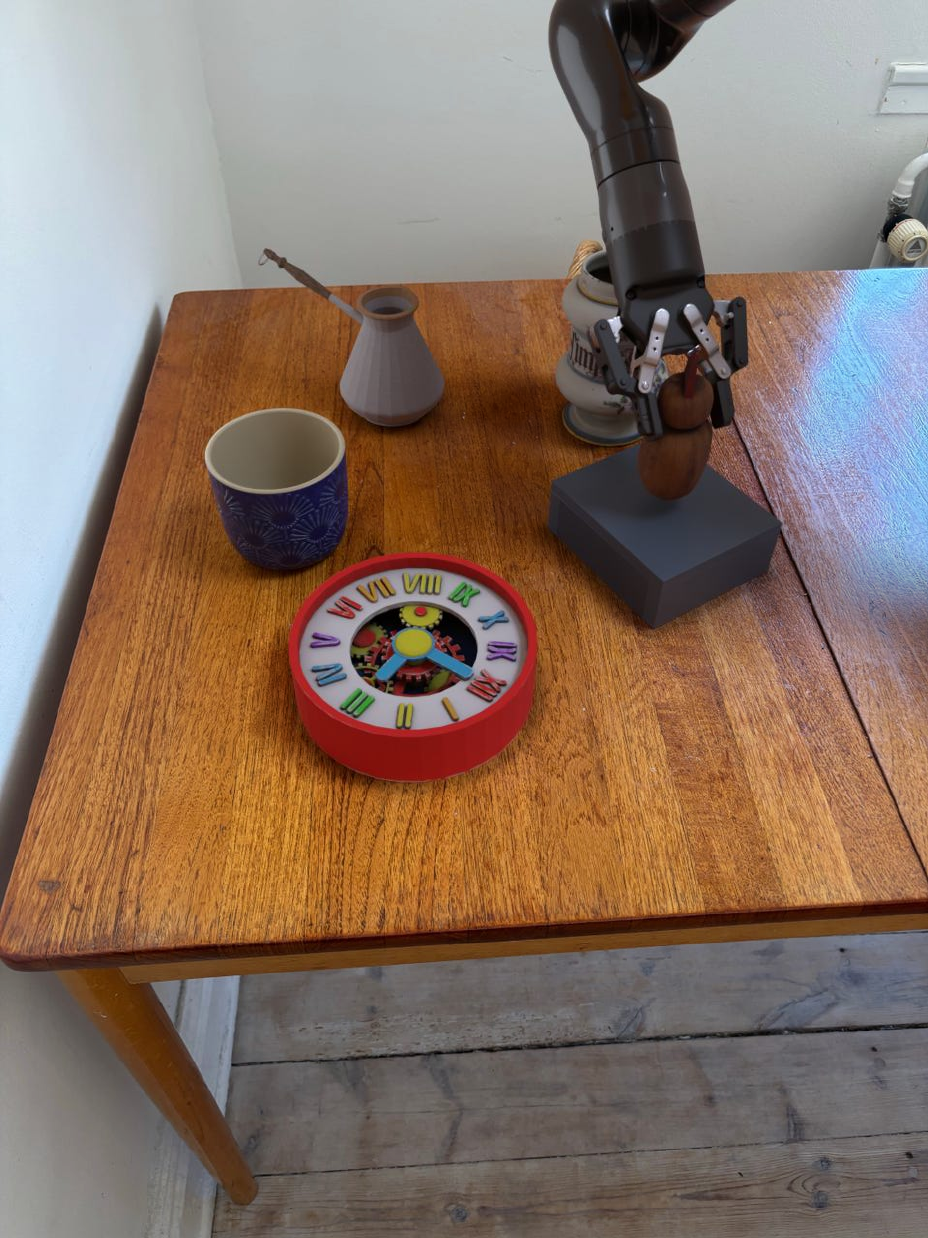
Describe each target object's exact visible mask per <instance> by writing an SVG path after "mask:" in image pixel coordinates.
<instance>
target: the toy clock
mask: <svg viewBox="0 0 928 1238" xmlns="http://www.w3.org/2000/svg"><path fill="white" fill-rule="evenodd" d="M537 631H538V630H537V627H536V623H535V620H534V617H533V613H532V611H531V610H530V608H529V607H528V604H527V603H526V601H525V599H524V598H523V597H522V595H520V593H519V592H518V591H517V590H516V588H514V587H513V586H512V585H511V584H510V583H509V582H507V581H506V579H504V578H502V577H501V576H500V575H499V574H497V573H495V572H494V571H492V570H490V569H489V568H487V567H485V566H483V565H481V564H478V563H475V562H473V561H470V560H468V559H465V558H461V557H457V556H453V555H449V554H445V553H437V552H430V551H429V552H426V551H422V552H421V551H407V552H406V551H405V552H398V553H397V552H396V553H389V554H383V555H380V556H375V557H372V558H368V559H365V560H362V561H360V562H357V563H354V564H352V565H349V566H347V567H346V568H344V569H342V570H340V571H338V572H336V573H334V574H333V575H331V576H330V577H329V578H327V579H326V580H324V581H323V582H322V583H321V584H319V585H318V586H317V587H316V588H314V590H313V591H312V593H310V594H309V595H308V596H307V597H306V598H305V600H304V601H303V603H302V605H301V606H300V608H299V610H297V612H296V614H295V617H294V619H293V622H292V623H291V627H290V632H289V637H288V642H287V643H288V644H287V646H288V659H289V668H290V671H291V677H292V678H291V679H292V682H293V690H294V695H295V701H296V706H297V711H298V712H299V715H300V718H301V722H302V724H303V726H304V728H305V729H306V731H307V732H308V735H309V736H310V738H311V740H312V741H314V743H315V744H316V745H317V746H318V747H319V748H320V749H321V750H322V751H323V752H324V753H325V754H326V755H328V756H329V757H330V758H332V759H333V760H335V762H337V763H338V764H340V765H342V766H344V767H346V768H348V769H349V770H352V771H354V772H356V773H358V774H361V775H364V776H368V777H370V778H373V779H377V780H383V781H389V782H396V783H428V782H435V781H440V780H441V781H442V780H446V779H450V778H453V777H456V776H457V777H458V776H460V775H463V774H466V773H468V772H470V771H473V770H475V769H477V768H479V767H481V766H483V765H485V764H486V763H488V762H489V761H491V760H492V759H493V758H495V757H496V756H498V755H499V754H501V753H502V752H503V751H504V750H505V749H506V748H507V747H508V746H509V745H510V744H512V742H513V741H514V740H515V739H516V737H517V736H518V734H519V733H520V732H521V730H522V728H523V727H524V726H525V724H526V721H527V719H528V717H529V714H530V711H531V710H532V706H533V705H532V704H533V700H534V692H535V683H536V681H535V680H536V671H537V670H536V668H537V658H538V657H537V656H538V633H537Z"/></svg>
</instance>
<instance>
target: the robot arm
mask: <svg viewBox="0 0 928 1238" xmlns="http://www.w3.org/2000/svg"><path fill="white" fill-rule="evenodd" d="M736 1H737V0H555V2H554V4H553V6H552V9H551V12H550V15H549V21H548V27H547V28H548V29H547V31H548V32H547V44H548V52H549V57H550V62H551V65H552V68H553V72H554V74H555V77H556V79H557V81H558V83H559V86H560V88H561V90H562V92H563V95H564V97H565V99H566V101H567V103H568V105H569V108H570V110H571V112H572V114H573V116H574V118H575V120H576V123H577V124H578V127H579V129H580V130H581V132H582V134H583V136H584V138H585V140H586V141H587V145H588V150H589V156H590V161H591V166H592V171H593V176H594V179H595V180H594V182H595V187H596V190H597V198H598V199H597V200H598V212H599V213H598V214H599V220H600V221H599V222H600V227H601V239H602V241H603V243H604V247H605V250H606V252H607V257H608V262H609V267H610V272H611V277H612V282H613V287H614V292H615V297H616V299H617V302H618V312H617V315H616V317H615V318H612V319H609V320H606V319H600V320H599V321H597V322H596V323H595V324H594V325H592V326H591V327H590V328H589V329H588V330H587V332H586V335H587V338H588V341H589V344H590V346H591V349H592V352H593V354H594V357H595V360H596V362H597V365H598V368H599V371H600V373H601V376H602V379H603V381H604V384H605V387H606V390H607V392H608V393H609V394H611V395H616V394H618V395H623V396H627V397H628V398H630V400H631V402H632V405H633V410H634V415H635V419H636V425H637V430H638V432H639V434H640V436H645V440H646V441H647V442H651V441H656V440H659V439H661V438H662V437H663V430H662V425H661V420H660V415H659V410H658V405H657V400H656V395H655V393H653V394H651V389H652V385H653V380H654V375H655V370H656V367H657V366H658V364H659V361H660V358H662V357H663V358H664V357H666V356H667V355H671V356H680V355H684V356H685V357H686V359H687V360H688V357H689V355H691V353H693V352H694V349H695V348H697V353H699V358H698V365H697V371H698V372H699V374H700V375H701V376H703V377H704V378H706V379H707V380H708V381H709V382H710V384H711V386H712V389H713V396H714V400H713V405H712V409H711V412H710V416H709V418H710V423H711V424H712V429H714V430H718V429H722V428H726V427H729V426H731V425H732V422H733V421H732V419H733V418H734V417H735V413H736V408H735V404H734V399H733V394H732V388H731V387H732V386H731V383H730V382H731V381H730V380H731V377H732V376H733V375H734V374H735V373H737V372H738V371H740V370H742V369H744V368H746V367H747V366H748V365H749V359H750V358H749V340H748V339H749V338H748V317H747V316H748V314H747V313H748V312H747V301H746V299H745V298H744V297H743V296H736V297H734V298H732V299H730V300H728V299H727V300H726V299H724V300H723V299H714V298H713V296H712V295H711V293H710V292H709V290H708V288H707V286H706V270H705V265H704V259H703V253H702V249H701V244H700V239H699V234H698V228H697V224H696V219H695V214H694V209H693V204H692V199H691V195H690V190H689V187H688V184H687V180H686V178H685V175H684V173H683V168H682V164H681V158H680V154H679V147H678V143H677V137H676V134H675V133H676V132H675V127H674V124H673V119H672V115H671V113H670V110H669V108H668V106H667V105H666V103H665V102H664V101H663V100H662V99H660V98H659V97H657V96H655V95H654V94H652V93H650V92H648V90H645V89H644V88H643V87H642V86H641V85H640V84H641V83H643V82H646V81H648V80H651V79H652V78H654V77H655V76H657V75H659V74H660V73H662V72H664V70H665V69H666V68H668V67H669V66H670V65H671V64H672V62H673V61H674V60H675V59H676V58H677V57H678V56H679V54H680V53H681V52H682V51H683V50H684V49H685V47H687V45H688V44H689V43H690V41H692V40H693V38H694V37H695V36H696V34H697V33H698V32H699V30H700V29H701V28H702V27H703V25H704V24H705V23H706V21H708V20H710V19H711V18H713V17H715V16H716V15H718V14H719V13H721V12H722V11H723V10H725V9H727V7H729V6H731V5H732V4H733V3H735V2H736ZM712 316H713V317H714V319H715V320H714V321H715V325H716V326H718V327H719V329H720V345H719V343H718V342H717V341H718V340H717V339H716V338H715V337H714V335H713V334H712V332H711V330H710V329H709V327H708V326H709V324H710V321H711V319H712ZM619 331H621V332H622V333H623V334H624V335H625V336H626V337H627V338H628V339H629V340H630V341H631V342H632V343H633V344H634V345H635V346H634V351H633V356H632V361H631V366H630V370H631V376H630V377H629V375H628V372H627V369H626V367H625V364H624V361H623V359H622V356H621V353H620V350H619V348H618V345H617V343H618V342H619V340H620V336H619ZM720 351H721V352H720Z"/></svg>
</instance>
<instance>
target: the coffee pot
mask: <svg viewBox="0 0 928 1238" xmlns="http://www.w3.org/2000/svg"><path fill="white" fill-rule="evenodd" d="M264 255H265V257H266V259H265V260H264V261H263V262H261V260H262V258H263V257H264ZM269 260H270V261H274V262H275V263H276V266H277V268H278V269H284V270H285V272H287V273H288V274H289V275H290V276H291V277H292V278H294V280H295V281H297V282H298V283H299V284H302V285H303V286H305V287H306V288H307V289H308V290H311V291H313V292H314V293H315V294H317V295H319V296H320V297H322V298H323V299H325V300H326V301H329V302H331V303H332V304H333V305H335V306H336V307H337V308H339V310H342V311H343V312H344V313H346V315H348V316H349V317H350V318H352V319H353V320H355V321H356V322H357V323H359V324H360V325H361V327H360V329H359V332H358V334H357V337H356V340H355V342H354V345H353V347H352V350H351V352H350V355H349V357H348V361H347V362H346V365H345V368H344V370H343V373H342V376H341V379H340V382H339V390H340V395H341V397H342V398H343V400H344V402H345V403H346V405H347V406H348V408H349V409H350V410H351V411H353V412H354V413H355V414H356V415H358V416H359V417H361V418H363V419H365V420H366V421H367V422H369V423H371V424H374V425H377V426H381V427H392V428H393V427H403V426H407V425H410V424H413V423H416V422H417V421H419V420H420V419H421V418H423V417H425V415H427V414H428V413H429V412H431V411H432V410H433V409H434V408H435V407H436V406H437V404H438V403H439V401H440V400H441V398H442V396H443V394H444V390H445V385H446V384H445V383H446V382H445V380H444V377H443V376H444V375H443V373H442V371H441V369H440V367H439V365H438V363H437V361H436V359H435V358H434V356H433V354H432V352H431V349H430V348H429V346H428V344H427V342H426V340H425V338H424V336H423V334H422V332H421V330H420V328H419V326H418V325H417V322H416V320H415V319H414V315H415V313H416V311H417V310H418V308H419V305H420V300H419V297H418V296H417V295H416V293H415V292H413V291H412V290H411V289H410V288H408V287H406V286H402V285H401V286H400V285H383V286H377V287H372V288H370V289H368V290H365V291H364V292H362V293H361V294H360V295H359V296H358V297H357V299H356V303H355V304H356V308H357V309H356V308H354V307H353V306H352V305H349V303H346V302H345V301H344V300H342V299H341V298H339V297H338V296H336V295H335V294H333V291H330V289H328V288H327V287H326V286H325V285H322V284H321V283H320V282H319V281H318V280H316V279H315V278H314V277H313V276H311V275H310V274H309V273H308V272H306V270H304V269H301V268H300V267H297V266H296V265H294V264H292V263H290V262H288V260H287V257H285V256H282V257H281V256H279V255H277V253H276V252H275V251H273V250H272V249H270V248H264V249H263V251H262V253H261V254H260V256H259V258H258V260H257V265H259V266H264V265H265V264H266V263H267V262H268V261H269Z"/></svg>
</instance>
